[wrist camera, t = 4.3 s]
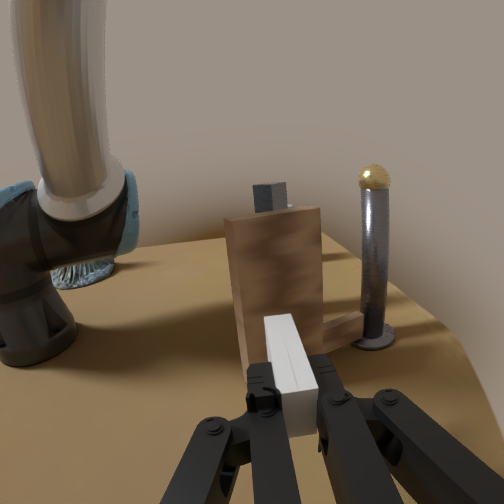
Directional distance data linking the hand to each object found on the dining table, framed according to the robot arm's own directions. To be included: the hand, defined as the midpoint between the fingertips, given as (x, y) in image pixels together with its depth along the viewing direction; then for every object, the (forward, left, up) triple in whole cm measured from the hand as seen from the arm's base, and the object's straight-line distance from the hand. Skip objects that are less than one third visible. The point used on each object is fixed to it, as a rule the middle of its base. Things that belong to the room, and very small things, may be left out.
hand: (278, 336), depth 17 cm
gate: (-7, +9, -11) cm, 16 cm away
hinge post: (-6, +18, -11) cm, 22 cm away
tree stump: (-68, -9, -11) cm, 69 cm away
